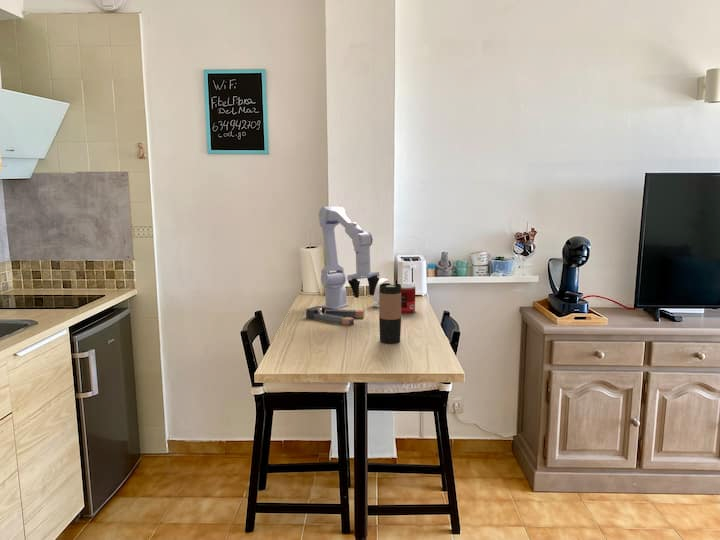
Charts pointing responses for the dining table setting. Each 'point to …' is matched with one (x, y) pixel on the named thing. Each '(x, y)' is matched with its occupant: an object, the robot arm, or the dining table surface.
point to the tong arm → (346, 313)
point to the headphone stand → (377, 289)
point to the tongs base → (328, 316)
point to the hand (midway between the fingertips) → (364, 296)
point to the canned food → (407, 298)
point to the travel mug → (390, 313)
